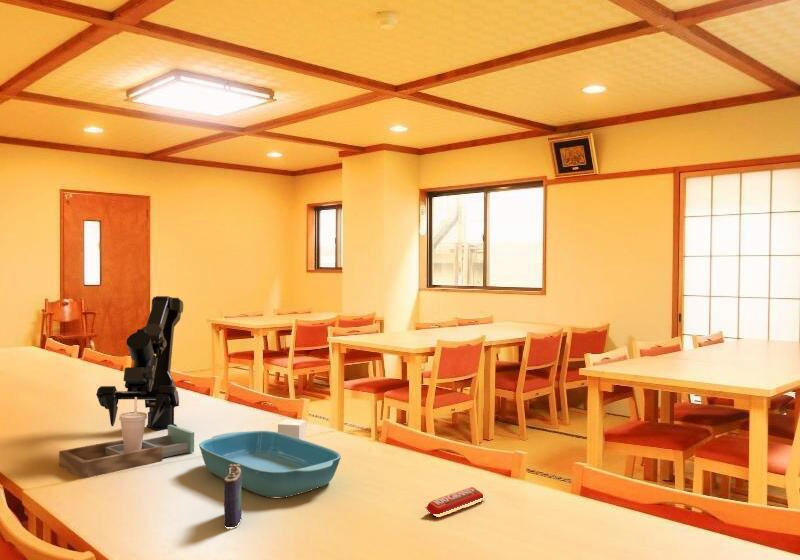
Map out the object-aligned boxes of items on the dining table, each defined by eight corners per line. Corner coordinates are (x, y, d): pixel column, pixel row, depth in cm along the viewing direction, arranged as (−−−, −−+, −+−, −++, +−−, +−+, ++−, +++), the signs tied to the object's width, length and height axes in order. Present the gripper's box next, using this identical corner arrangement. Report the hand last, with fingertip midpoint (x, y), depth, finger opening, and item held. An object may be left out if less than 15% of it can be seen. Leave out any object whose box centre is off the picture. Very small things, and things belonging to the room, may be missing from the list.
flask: (228, 511, 131) (229, 457, 131) (243, 510, 132) (244, 457, 132) (222, 529, 122) (223, 472, 122) (238, 529, 123) (239, 471, 122)
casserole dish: (359, 486, 149) (359, 454, 148) (278, 512, 132) (278, 476, 132) (260, 452, 173) (261, 425, 173) (182, 471, 157) (182, 441, 157)
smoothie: (145, 456, 163) (146, 399, 163) (117, 457, 161) (117, 400, 161) (147, 449, 169) (148, 394, 169) (120, 450, 167) (120, 395, 167)
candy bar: (435, 522, 129) (436, 506, 128) (422, 516, 131) (422, 501, 131) (487, 502, 140) (487, 488, 140) (473, 497, 142) (474, 483, 142)
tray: (171, 443, 179) (171, 424, 179) (194, 451, 171) (194, 432, 171) (103, 456, 166) (104, 436, 165) (125, 466, 158) (125, 445, 158)
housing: (136, 450, 173) (136, 436, 173) (162, 460, 164) (162, 446, 164) (59, 465, 158) (59, 451, 158) (82, 478, 150) (82, 462, 150)
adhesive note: (277, 446, 179) (277, 424, 179) (284, 440, 185) (285, 419, 185) (299, 447, 178) (299, 425, 178) (305, 441, 184) (306, 420, 184)
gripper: (98, 354, 167) (83, 407, 156) (176, 354, 170) (166, 406, 159) (108, 380, 175) (94, 432, 164) (181, 379, 178) (172, 431, 167)
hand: (131, 425), depth 164 cm, fingers open, 9 cm apart
